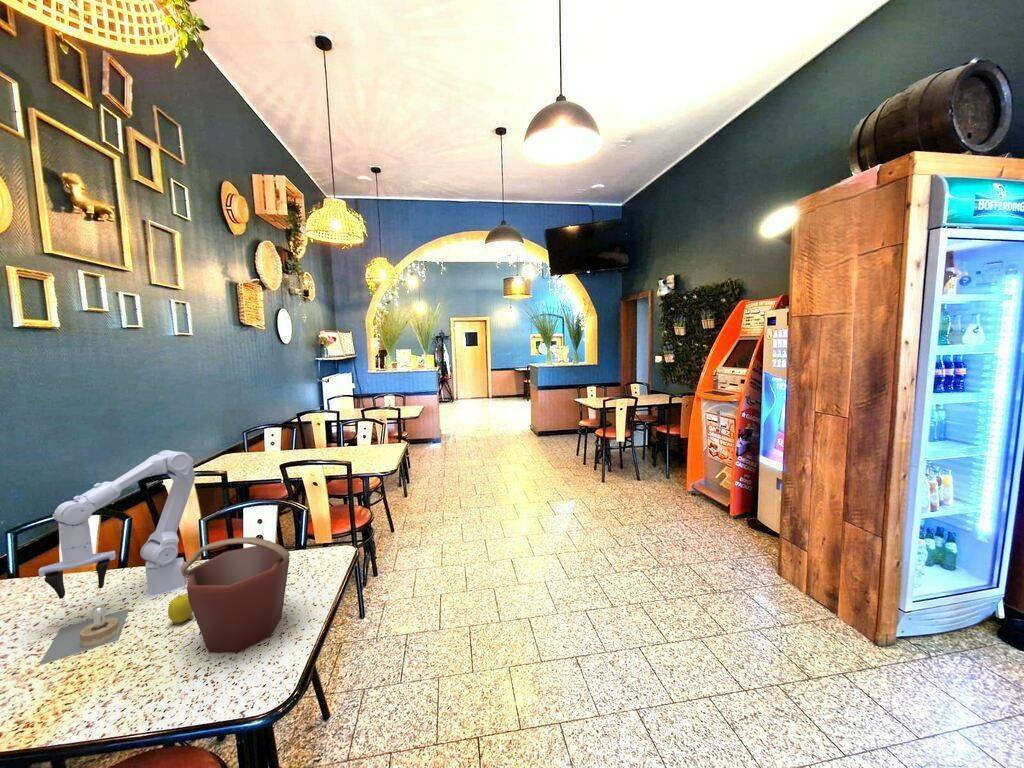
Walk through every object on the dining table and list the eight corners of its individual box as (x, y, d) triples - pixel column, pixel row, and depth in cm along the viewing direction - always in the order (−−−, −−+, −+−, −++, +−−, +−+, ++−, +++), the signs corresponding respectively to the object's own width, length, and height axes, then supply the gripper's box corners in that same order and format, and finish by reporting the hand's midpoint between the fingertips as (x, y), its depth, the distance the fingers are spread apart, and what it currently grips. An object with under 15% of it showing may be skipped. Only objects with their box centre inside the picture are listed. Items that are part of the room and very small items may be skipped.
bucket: (164, 661, 99) (154, 561, 97) (231, 604, 121) (223, 523, 119) (263, 661, 98) (254, 560, 96) (311, 604, 120) (305, 521, 118)
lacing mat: (129, 610, 120) (129, 608, 120) (118, 642, 107) (118, 640, 107) (60, 630, 112) (60, 628, 112) (39, 667, 99) (38, 665, 99)
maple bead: (121, 624, 113) (120, 614, 113) (116, 638, 107) (115, 627, 107) (85, 635, 109) (84, 625, 109) (78, 650, 103) (76, 639, 103)
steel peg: (104, 633, 109) (101, 604, 109) (107, 635, 108) (105, 606, 108) (94, 638, 107) (91, 609, 107) (97, 640, 107) (94, 610, 106)
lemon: (199, 619, 115) (196, 591, 115) (176, 631, 110) (173, 603, 110) (187, 614, 118) (185, 587, 117) (165, 626, 112) (162, 598, 112)
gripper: (115, 532, 120) (120, 576, 121) (42, 547, 112) (48, 595, 113) (110, 540, 115) (116, 587, 116) (33, 557, 106) (39, 607, 107)
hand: (82, 591), depth 114 cm, fingers open, 7 cm apart
